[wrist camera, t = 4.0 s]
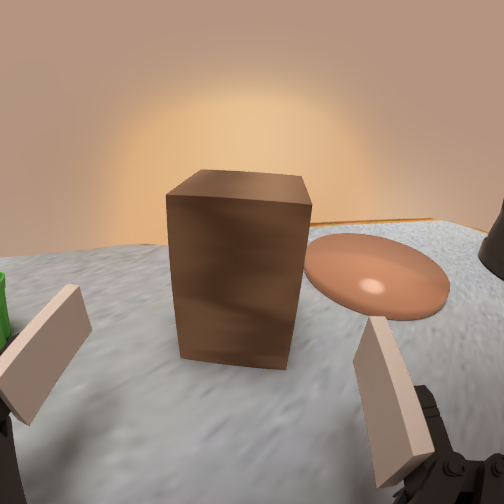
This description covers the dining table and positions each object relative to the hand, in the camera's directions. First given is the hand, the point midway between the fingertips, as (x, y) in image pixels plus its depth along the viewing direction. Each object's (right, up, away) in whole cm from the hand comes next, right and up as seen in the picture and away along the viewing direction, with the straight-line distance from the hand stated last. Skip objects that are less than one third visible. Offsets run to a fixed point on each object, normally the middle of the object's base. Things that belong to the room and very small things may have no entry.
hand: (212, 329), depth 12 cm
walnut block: (+1, -3, +9) cm, 10 cm away
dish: (+16, +1, +18) cm, 24 cm away
